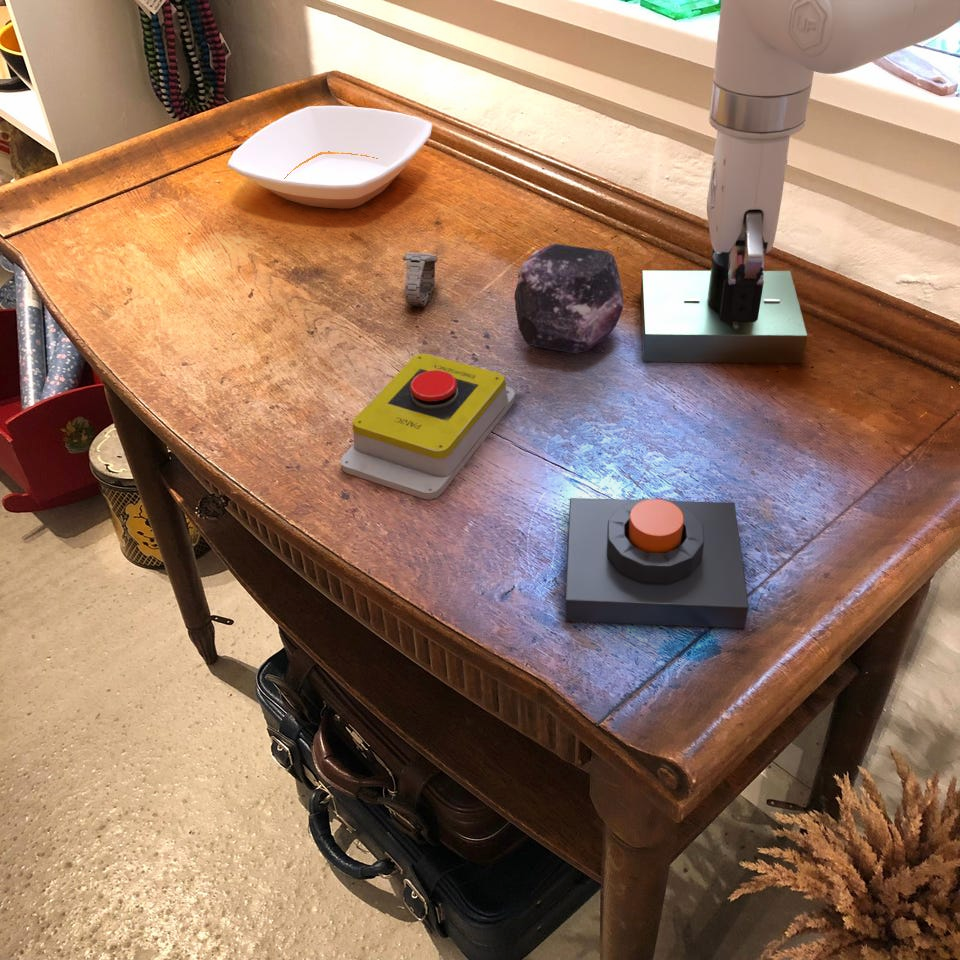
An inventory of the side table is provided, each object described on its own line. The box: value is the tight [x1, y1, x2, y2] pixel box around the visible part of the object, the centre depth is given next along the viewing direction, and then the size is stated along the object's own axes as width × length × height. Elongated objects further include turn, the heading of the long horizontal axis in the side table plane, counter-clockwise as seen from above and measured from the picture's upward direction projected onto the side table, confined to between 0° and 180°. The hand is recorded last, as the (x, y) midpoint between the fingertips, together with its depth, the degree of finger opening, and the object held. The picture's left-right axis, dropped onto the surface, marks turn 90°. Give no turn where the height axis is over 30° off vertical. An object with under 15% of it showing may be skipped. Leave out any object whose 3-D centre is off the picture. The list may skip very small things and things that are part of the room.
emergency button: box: [340, 353, 517, 500], centre depth 81 cm, size 9×4×15 cm
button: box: [629, 498, 684, 553], centre depth 66 cm, size 4×4×2 cm
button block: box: [564, 497, 750, 629], centre depth 68 cm, size 12×10×4 cm
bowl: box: [226, 105, 433, 210], centre depth 117 cm, size 22×22×5 cm
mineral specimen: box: [513, 243, 624, 354], centre depth 88 cm, size 10×10×10 cm
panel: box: [640, 270, 808, 365], centre depth 90 cm, size 14×11×3 cm
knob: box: [707, 245, 745, 311], centre depth 87 cm, size 4×4×5 cm
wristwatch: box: [402, 252, 438, 307], centre depth 96 cm, size 4×6×5 cm, turn 168°
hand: (733, 290), depth 88 cm, fingers open, 9 cm apart
